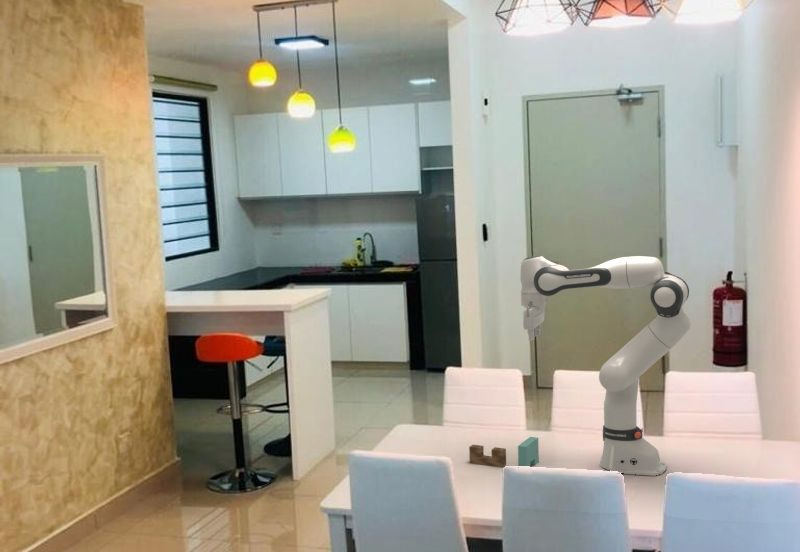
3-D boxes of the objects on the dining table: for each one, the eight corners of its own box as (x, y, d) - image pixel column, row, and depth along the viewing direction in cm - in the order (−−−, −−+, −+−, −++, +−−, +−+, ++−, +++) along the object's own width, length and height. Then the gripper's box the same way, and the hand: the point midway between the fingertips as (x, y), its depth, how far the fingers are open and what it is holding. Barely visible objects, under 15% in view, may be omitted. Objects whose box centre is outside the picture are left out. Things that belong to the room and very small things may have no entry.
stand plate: (506, 464, 306) (505, 448, 306) (503, 467, 304) (502, 450, 303) (473, 460, 313) (472, 444, 312) (469, 462, 310) (469, 446, 310)
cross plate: (530, 461, 310) (530, 436, 309) (538, 462, 308) (538, 437, 307) (518, 470, 299) (517, 445, 298) (526, 472, 298) (526, 446, 297)
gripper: (536, 304, 299) (537, 343, 300) (547, 297, 318) (548, 333, 319) (518, 304, 301) (519, 342, 303) (530, 297, 320) (531, 333, 322)
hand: (534, 338), depth 311 cm, fingers open, 8 cm apart
